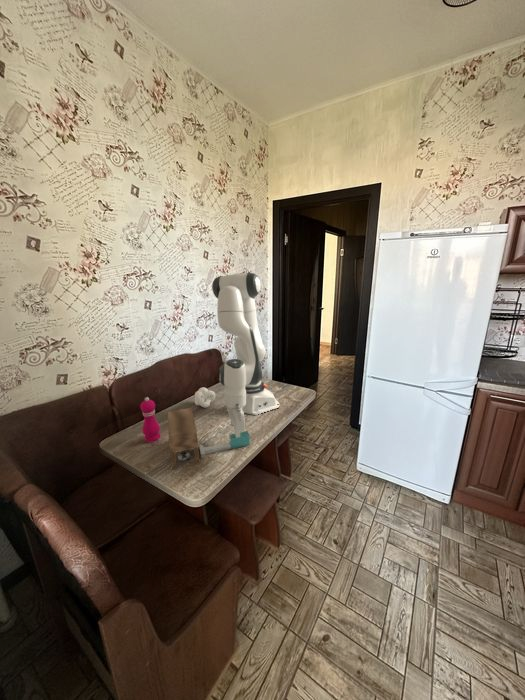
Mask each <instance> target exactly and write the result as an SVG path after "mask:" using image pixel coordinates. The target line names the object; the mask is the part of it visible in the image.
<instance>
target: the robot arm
mask: <svg viewBox="0 0 525 700" xmlns="http://www.w3.org/2000/svg"><path fill="white" fill-rule="evenodd" d="M211 285H212V286H211V289H212V293H213V295H214V297H215V298H216V299H217V308H216V310H217V311H216V312H217V323H218V326H219V327H220V329H221V330H222V331H224V332H225V333H227V334H230V335H232V336H235V337H236V338H235V340H234V342H233V346H234V350H235V354H236V358H237V359H236V358H233V359H228V360H227V361H226V362H225V363H223V364H221V366H220V367H219V368H218V371H219V383H220V384H221V385H222V386H224V391H223V394H224V395H223V400H224V401H223V404H224V406H225V407H226V410H227V413H228V416H229V419H230V425H231V426H232V427H233V430H234V434H235V436H236V438H237V437H240V432H245V429H246V427H245V426H246V422H245V414H249V415H253V416H259V415H262V414H261V413H263V414H265V413H264V412H266V413H268V412H267V411H269V412H271V411H270V410H272V409H275V408H278V407H279V406H280V405H281V404H280V402H279V401H278V400H277V399H276V398H275V395H274V394H273V392H272V391H271V390H269V389H267V388H268V385H267V384H266V383H264V382H263V381H262V380H263V368H262V366H261V365H262V364H261V361H263V360H264V358H265V357H266V355H267V349H266V346H265V345H264V342H263V339H262V335H261V332H260V330H259V329H260V328H259V325H258V324H259V323H258V316H257V308H256V306H257V305H256V302H255V297H257V296H258V295H259V294H260V292H261V281H260V278H259V276H258V275H257V274H256V273H253V272H248V273H245V272H244V273H234V274H227V275H220V276H217V277H215V278H214V279H213V281H212V284H211ZM277 404H279V405H277ZM280 407H281V406H280ZM258 414H259V415H258Z"/></svg>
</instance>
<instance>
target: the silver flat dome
mask: <svg viewBox="0 0 525 700" xmlns="http://www.w3.org/2000/svg"><path fill="white" fill-rule="evenodd" d="M177 458H178V461H180V462H184V461H187V460H189V459H190V452H189V451H182V452H179V454H178V456H177Z"/></svg>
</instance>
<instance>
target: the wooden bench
mask: <svg viewBox="0 0 525 700" xmlns="http://www.w3.org/2000/svg"><path fill="white" fill-rule="evenodd" d="M167 433H168V434H167V437H168V445H169V451H170V459H171V467H172V470H176V469H177V468H178V466H177V459H176V457H177V456H176V453H178V452H181V451H182V452H184V451H187V450H192V449H193V451H194V461H195V464H200V463H201V461H200V450H199V443H198V433H197V427H196V423H195V417H194V412H193V408H192V407H189V408H188V407H187V408H184V409H183V408H182V409H178V410H171V411H167Z"/></svg>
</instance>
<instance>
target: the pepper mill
mask: <svg viewBox="0 0 525 700" xmlns="http://www.w3.org/2000/svg"><path fill="white" fill-rule="evenodd" d="M155 409H156V403H155V401H154V400H152V399H150V398H149V397H148V396H147V397H144V400H143V401H142V402H141V403H140V410H141V412H142V416H143V417H144V421H143V426H142V434H143V435H144V441H147V443H153V442H156V441H158V440H159V439H160V437H161V434H160V431H161V426H160V424H159V423H158V422H157V420H156V418H155V417H156V416H155V413H156V410H155Z"/></svg>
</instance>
